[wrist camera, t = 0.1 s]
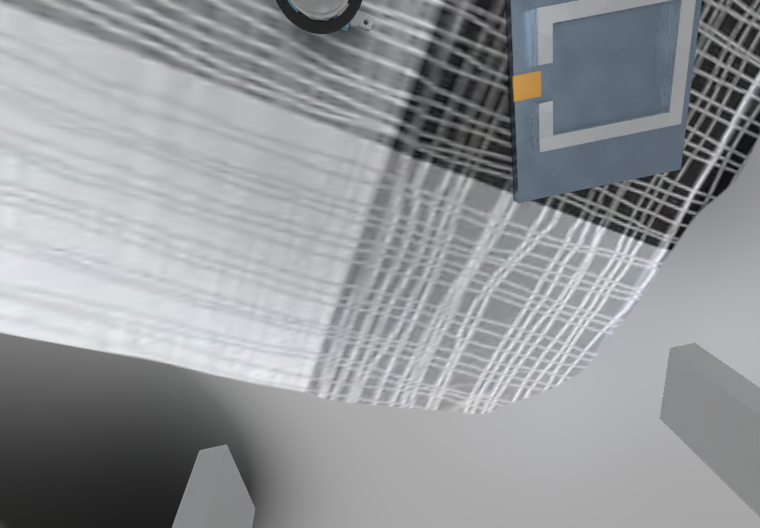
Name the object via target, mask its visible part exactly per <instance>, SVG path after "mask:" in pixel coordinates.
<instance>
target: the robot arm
mask: <svg viewBox="0 0 760 528" xmlns="http://www.w3.org/2000/svg"><path fill="white" fill-rule="evenodd" d="M660 419H661V420H662V421H663V422H664V423H665V424H666V425H667V426H668V427H669V428H670V429H671V430H672V431H673V432H674V433H675V434H676V435H677V436H678V437H680V439H681V440H682V441H683V442H684V443H685V444H686V445H687V446H688V447H689V448H690V449H691V450H692V451H693V452H694V453H695V454H696V455H697V456H698V457H699V458H700V459H701V460H703V462H704V463H705V464H706V465H707V466H708V467H709V468H711V469H712V470H713V472H714V473H716V474H717V475H718V476H719V477H720V478H721V479H722V480H723V481H724V482H725V483H726V484H727V485H728V486H729V487H730V488H731V489H732V490H733V491H734V492H735V493H736V494H737V495H738V496H739V497H740V498H741V499H742V500H743V501H744V502H745V503H746V504H747V505H748V506H749V507H750V508H751V509H752V510H753V511H754V512H755V513H756V514H757V515H758V516H759V517H760V388H759V387H758V386H756V385H755V384H754V383H752V382H751V381H749V380H748V379H746V378H745V377H743V376H742V375H740V374H739V373H738V372H736V371H735V370H733V369H732V368H730V367H729V366H727V365H726V364H725V363H722V361H720V360H719V359H717V358H716V357H714V356H713V355H712V354H710V353H709V352H707V351H706V350H704V349H703V348H701V347H700V346H698V345H697V344H696V343H693V344H687V345H683V346H678V347H674V348H670V352H669V358H668V365H667V372H666V379H665V387H664V393H663V400H662V407H661V414H660ZM254 512H255V507H254V505H253V503H252V501H251V498H250V496H249V494H248V492H247V489H246V487H245V485H244V483H243V480H242V478H241V476H240V473H239V471H238V469H237V467H236V464H235V462H234V460H233V458H232V456H231V453H230V451H229V449H228V447H227V445H222V446H218V447H213V448H208V449H204V450H200V451H199V454H198V456H197V459H196V462H195V465H194V468H193V470H192V473H191V476H190V479H189V481H188V484H187V487H186V490H185V493H184V495H183V498H182V501H181V504H180V507H179V509H178V512H177V515H176V518H175V521H174V524H173V526H172V528H252V524H253V518H254Z"/></svg>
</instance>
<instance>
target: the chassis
mask: <svg viewBox="0 0 760 528" xmlns="http://www.w3.org/2000/svg"><path fill="white" fill-rule="evenodd" d="M701 2H702V0H506V20H507V43H508V67H509V90H510V114H511V138H512V161H513V185H514V200H515V201H517V202H518V203H519V202H524V201H529V200H534V199H539V198H544V197H549V196H553V195H558V194H563V193H568V192H573V191H578V190H583V189H587V188H592V187H597V186H602V185H607V184H612V183H617V182H621V181H626V180H631V179H636V178H641V177H646V176H651V175H655V174H660V173H665V172H670V171H675V170H680V169H681V163H682V155H683V147H684V139H685V131H686V123H687V115H688V107H689V99H690V91H691V83H692V75H693V67H694V58H695V50H696V42H697V34H698V26H699V18H700V10H701Z"/></svg>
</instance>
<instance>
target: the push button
mask: <svg viewBox="0 0 760 528" xmlns="http://www.w3.org/2000/svg"><path fill="white" fill-rule="evenodd" d="M276 1H277V3H278V5H279V7H280V9H281V10H282V12H283V13H284V14H285V16H286V17H287V18H288V19H289V20H290V21H291V22H292V23H294V24H295V25H296V26H298V27H299V28H301V29H303V30H305V31H308V32H311V33H316V34H327V33H332V32H335V31H337V30H339V29H341V30H344V31H347V30H348V27H349V26H351V27H354V28H356V27H360V28H362V29H365V30H367V31H370V29H371V28H372V24H373V21H374V19H373V18H371V17H369V16H366V15H364V14H361V11H360V10H359V7H360V5H361V2H362V0H276ZM297 12H298V13H297ZM364 21H367V22H368V25H365V24H364Z"/></svg>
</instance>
